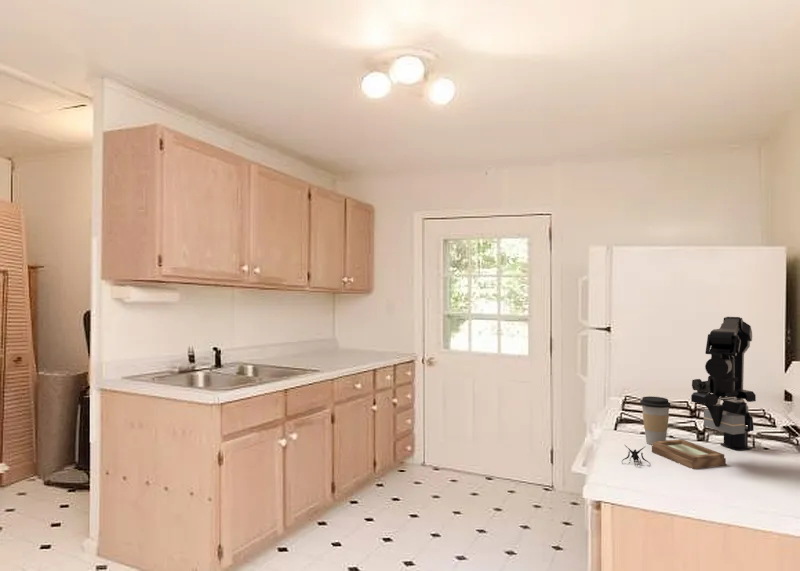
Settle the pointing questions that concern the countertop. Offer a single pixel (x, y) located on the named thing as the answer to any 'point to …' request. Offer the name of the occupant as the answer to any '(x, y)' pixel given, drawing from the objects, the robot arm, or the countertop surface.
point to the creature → (635, 455)
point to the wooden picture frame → (688, 453)
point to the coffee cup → (655, 418)
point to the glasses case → (726, 422)
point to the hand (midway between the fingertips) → (723, 426)
